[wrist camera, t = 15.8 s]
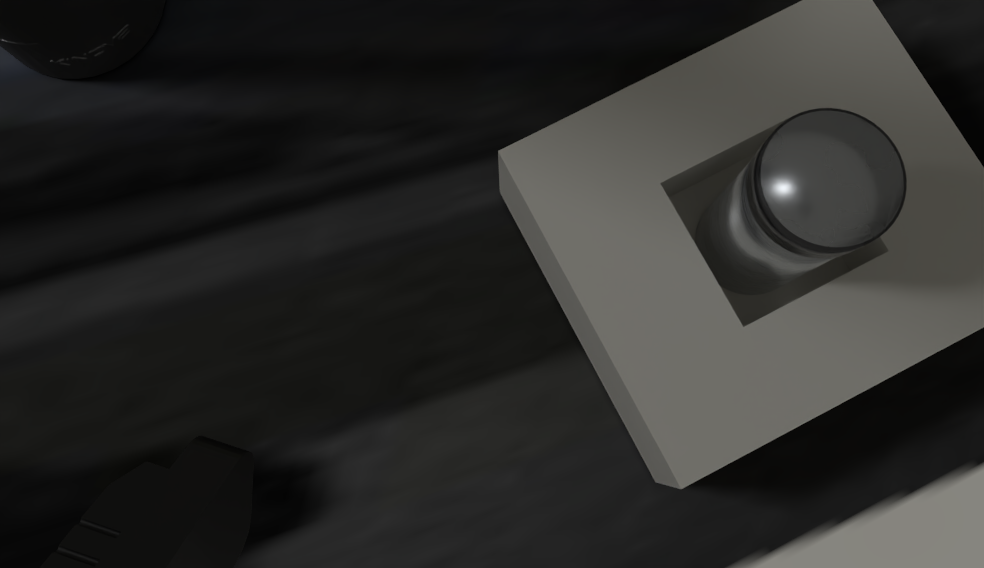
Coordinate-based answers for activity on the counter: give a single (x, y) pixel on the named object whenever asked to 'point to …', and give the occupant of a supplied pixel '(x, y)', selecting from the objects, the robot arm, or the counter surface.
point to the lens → (803, 201)
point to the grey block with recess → (685, 274)
